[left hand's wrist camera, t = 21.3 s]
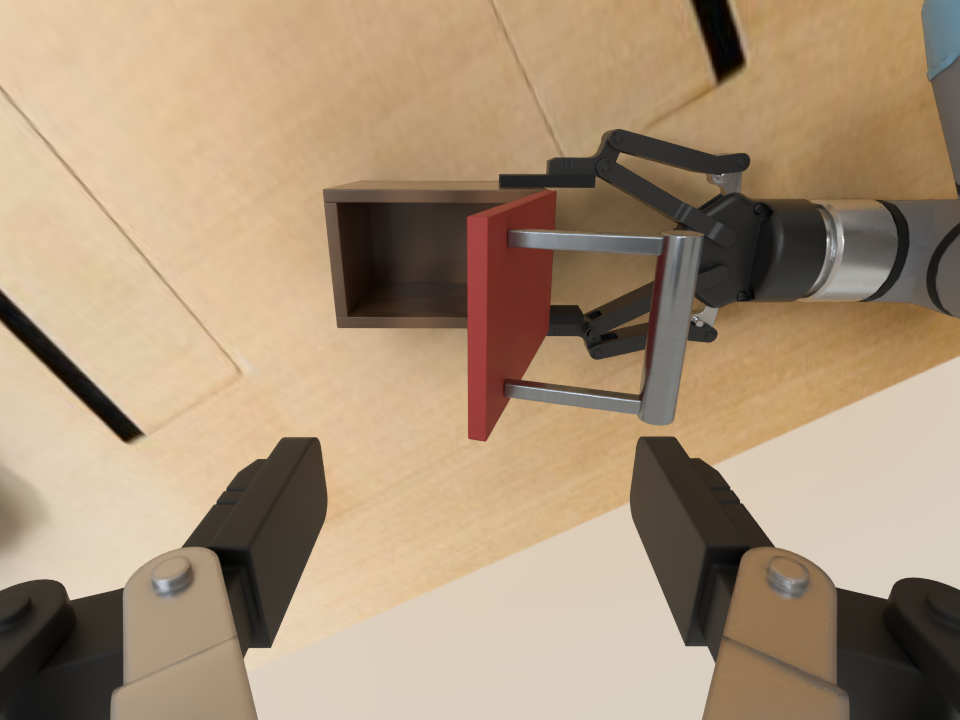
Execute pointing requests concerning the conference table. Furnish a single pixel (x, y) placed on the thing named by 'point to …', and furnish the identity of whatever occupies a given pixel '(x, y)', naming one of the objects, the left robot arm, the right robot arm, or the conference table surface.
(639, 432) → the conference table surface
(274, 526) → the left robot arm
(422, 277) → the chest
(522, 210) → the lid
